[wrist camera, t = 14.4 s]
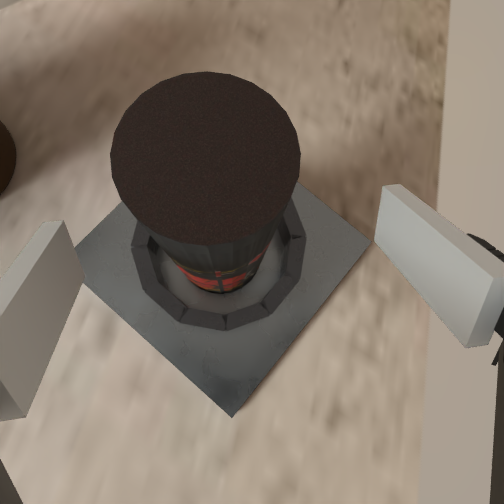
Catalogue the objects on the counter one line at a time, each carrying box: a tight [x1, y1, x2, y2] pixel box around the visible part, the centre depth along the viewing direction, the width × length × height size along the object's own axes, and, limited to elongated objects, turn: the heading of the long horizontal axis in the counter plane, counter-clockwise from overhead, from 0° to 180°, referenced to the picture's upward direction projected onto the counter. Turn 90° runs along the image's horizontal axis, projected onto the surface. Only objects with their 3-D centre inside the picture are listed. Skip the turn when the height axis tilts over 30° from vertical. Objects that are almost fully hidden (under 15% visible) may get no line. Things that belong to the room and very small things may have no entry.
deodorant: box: [110, 72, 301, 294], centre depth 18 cm, size 6×6×15 cm
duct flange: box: [74, 182, 371, 418], centre depth 25 cm, size 16×16×4 cm
